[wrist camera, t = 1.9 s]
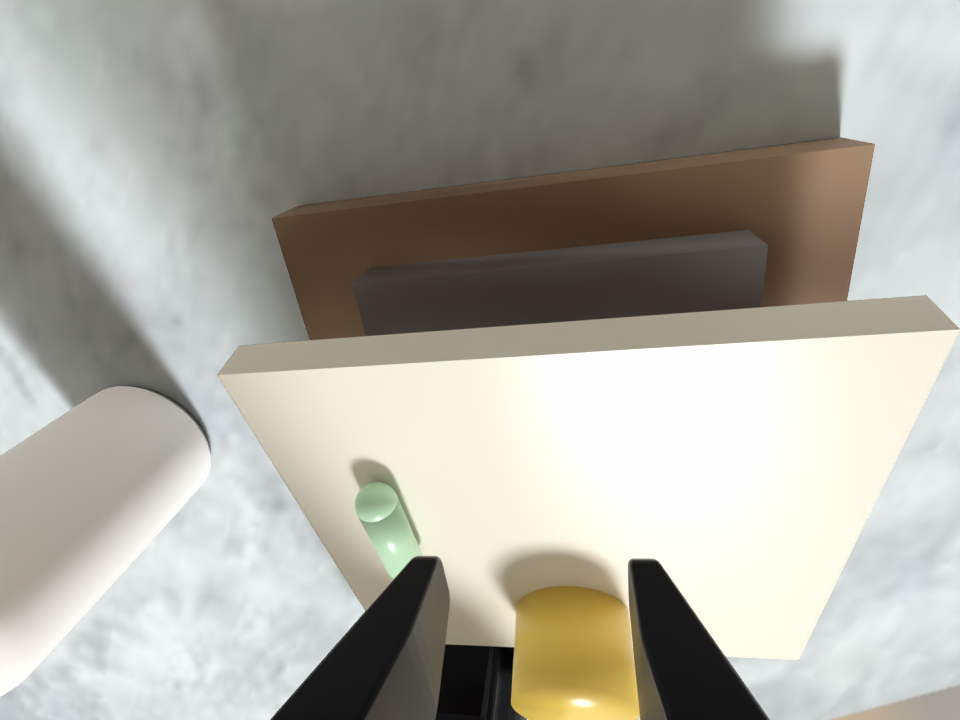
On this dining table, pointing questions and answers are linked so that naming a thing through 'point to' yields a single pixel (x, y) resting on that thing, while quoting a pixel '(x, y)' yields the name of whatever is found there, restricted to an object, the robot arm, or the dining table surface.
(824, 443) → the plate
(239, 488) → the dining table surface
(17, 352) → the dining table surface
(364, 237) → the walnut base
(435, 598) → the robot arm
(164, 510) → the can
